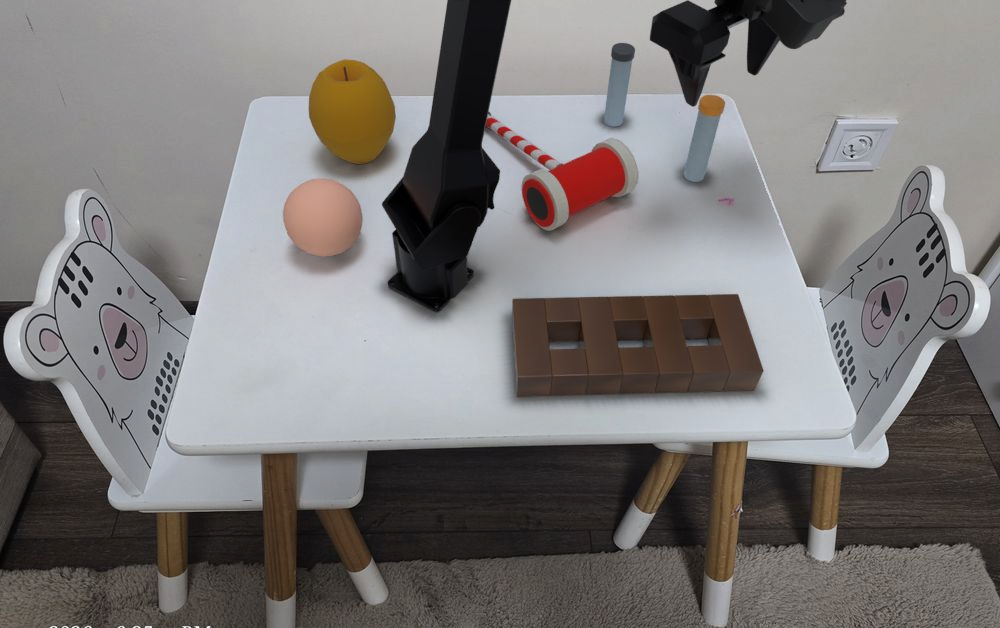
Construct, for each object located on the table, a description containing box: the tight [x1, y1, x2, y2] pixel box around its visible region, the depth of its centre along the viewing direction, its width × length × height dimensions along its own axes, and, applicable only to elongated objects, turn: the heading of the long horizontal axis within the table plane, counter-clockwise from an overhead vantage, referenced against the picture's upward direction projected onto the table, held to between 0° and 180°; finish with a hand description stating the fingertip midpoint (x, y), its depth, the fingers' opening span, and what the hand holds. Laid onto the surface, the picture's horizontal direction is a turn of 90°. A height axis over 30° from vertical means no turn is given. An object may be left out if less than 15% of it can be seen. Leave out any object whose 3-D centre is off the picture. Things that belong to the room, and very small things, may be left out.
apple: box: [308, 58, 397, 165], centre depth 86 cm, size 10×10×12 cm
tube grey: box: [603, 42, 636, 128], centre depth 92 cm, size 3×3×10 cm
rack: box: [511, 293, 764, 397], centre depth 70 cm, size 22×9×3 cm, turn 92°
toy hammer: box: [485, 111, 639, 232], centre depth 87 cm, size 23×12×6 cm, turn 35°
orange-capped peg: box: [683, 94, 726, 183], centre depth 85 cm, size 3×3×10 cm
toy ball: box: [282, 177, 364, 257], centre depth 77 cm, size 8×8×8 cm
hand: (722, 88), depth 77 cm, fingers open, 9 cm apart
